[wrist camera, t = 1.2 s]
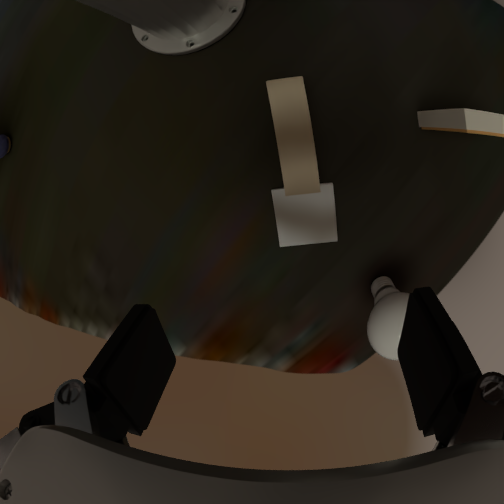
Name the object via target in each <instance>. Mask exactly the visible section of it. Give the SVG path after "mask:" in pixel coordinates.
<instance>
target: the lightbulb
mask: <svg viewBox="0 0 504 504" xmlns="http://www.w3.org/2000/svg"><path fill="white" fill-rule="evenodd" d="M371 292H372V294H373V297H374V299H375V301H374V307H373V309H372V311H371V313H370V315H369V318H368V323H367V335H368V339H369V342H370V344H371V346H372V347H373V349H374V350H375V351H376V352H377V353H378V354H379V355H381V356H382V357H385V358H387V359H390V360H399V359H398V354H397V349H398V345H399V340H400V336H401V332H402V328H403V323H404V318H405V314H406V309H407V303H408V298H409V294H410V293H406V292H400V291H399V290H398V289H396V288H395V286H394V284H393V282H392V280H391V279H390V278H389V277H386V276H382V277H379V278H377V279H375V280H374V281H373V283H372V285H371Z"/></svg>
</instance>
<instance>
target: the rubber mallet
mask: <svg viewBox="0 0 504 504" xmlns="http://www.w3.org/2000/svg"><path fill="white" fill-rule="evenodd" d="M10 146H11V142H10V138H9V137H7V136H6V135H4V134H2V135H0V158H2V157H4V156H5V155H6V154H7V153H8V152H9V151H10Z"/></svg>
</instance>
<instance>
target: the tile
mask: <svg viewBox="0 0 504 504" xmlns="http://www.w3.org/2000/svg"><path fill="white" fill-rule="evenodd" d="M417 114H418V122H419V127H422V129H426V130H442V131H455V132H465V133H475V134H485V135H493V136H500V137H504V115H502V114H496V113H491V112H485V111H479V110H473V109H465V108H460V109H442V110H429V111H419V112H417Z"/></svg>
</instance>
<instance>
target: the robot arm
mask: <svg viewBox="0 0 504 504" xmlns="http://www.w3.org/2000/svg"><path fill="white" fill-rule="evenodd" d="M75 1H78V2H81V3H83V4H86V5H89V6H91V7H94V8H96V9H98V10H101V11H103V12H106V13H108V14H110V15H112V16H115V17H117V18H119V19H121V20H123V21H125V22H127V23H130V24H131V26H132V30H133V34H134V35H135V37H136V39H137V40H138V41H139V43H140V44H141V45H143V46H144V47H146V48H147V49H149V50H151V51H154V52H156V53H160V54H164V55H182V54H188V53H192V52H196V51H199V50H201V49H204V48H206V47H208V46H210V45H212V44H213V43H215V42H217V41H219V40H220V39H221V38H223V37H224V36H225V35H226V34H228V33H229V32H230V31H231V30H232V28H233V27H234V26H235V25H236V24H237V22H238V21H239V19H240V18H241V16H242V14H243V12H244V9H245V6H246V0H75ZM234 11H237V12H235V13H233V12H234ZM192 44H194V45H193V46H192V47H191V45H192ZM397 354H398V359H399V361H400V365H401V368H402V371H403V375H404V378H405V381H406V385H407V388H408V392H409V395H410V399H411V402H412V406H413V410H414V414H415V418H416V422H417V426H418V429H419V430H423V434H424V437H426V436H430V435H433V434H435V437H436V440H437V443H436V445H435V447H434V448H433V450H432V451H430V452H427V453H423V454H419V455H415V456H411V457H407V458H401V459H397V460H392V461H386V462H380V463H375V464H368V465H361V466H355V467H346V468H335V469H321V470H289V471H288V470H256V469H243V468H233V467H232V468H231V467H224V466H216V465H208V464H203V463H197V462H191V461H186V460H180V459H176V458H171V457H167V456H162V455H158V454H154V453H150V452H146V451H143V450H139V449H136V448H133V447H130V446H129V443H128V440H127V437H126V434H127V432H129V433H131V434H135V435H139V436H141V435H142V433H143V430H146V429H147V427H148V425H149V423H150V420H151V418H152V416H153V414H154V412H155V409H156V407H157V405H158V402H159V400H160V398H161V396H162V393H163V391H164V389H165V387H166V384H167V382H168V380H169V377H170V375H171V373H172V371H173V369H174V366H175V363H176V358H175V355H174V353H173V351H172V348H171V346H170V344H169V342H168V339H167V337H166V335H165V333H164V330H163V328H162V326H161V323H160V321H159V318H158V316H157V313H156V311H155V309H154V308H152V307H151V306H150V305H148V304H136V305H134V306H133V307H132V309H131V310H130V311H129V313H128V314H127V315H126V317H125V318H124V319H123V321H122V322H121V323H120V325H119V326H118V327H117V329H116V330H115V331H114V333H113V334H112V335H111V337H110V338H109V340H108V341H107V343H106V344H105V345H104V347H103V348H102V349H101V351H100V352H99V354H98V355H97V356H96V358H95V359H94V361H93V362H92V364H91V365H90V367H89V368H88V369H87V371H86V372H85V374H84V375H83V378H84V379H85V381H86V382H85V384H83V383H82V382H81V381H80V380H77V379H72V380H68V381H66V382H64V383H63V384H61V385H60V386H59V388H58V389H57V390H56V392H55V396H54V402H52V403H50V404H47V405H45V406H42V407H40V408H38V409H35V410H33V411H30V412H28V413H27V414H25V415H24V416H23V417H22V419H21V421H20V424H19V428H18V427H16V428H15V429H14V430H12V431H11V432H10V433H9V434H7V435H5V436H4V437H3V438H1V439H0V504H504V375H502V374H500V373H497V372H487V373H485V374H483V375H482V373H481V371H480V369H479V367H478V365H477V363H476V361H475V359H474V357H473V356H472V354H471V352H470V350H469V348H468V346H467V344H466V342H465V341H464V339H463V337H462V335H461V334H460V332H459V330H458V329H457V327H456V325H455V324H454V322H453V321H452V320H451V318H450V317H449V315H448V314H447V312H446V311H445V309H444V307H443V306H442V304H441V302H440V301H439V299H438V298H437V296H436V295H435V293H434V292H433V290H432V289H431V288H430V287H423V288H416V289H414V291H413V293H410V294H409V298H408V303H407V309H406V314H405V318H404V323H403V328H402V332H401V336H400V340H399V345H398V349H397Z"/></svg>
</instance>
